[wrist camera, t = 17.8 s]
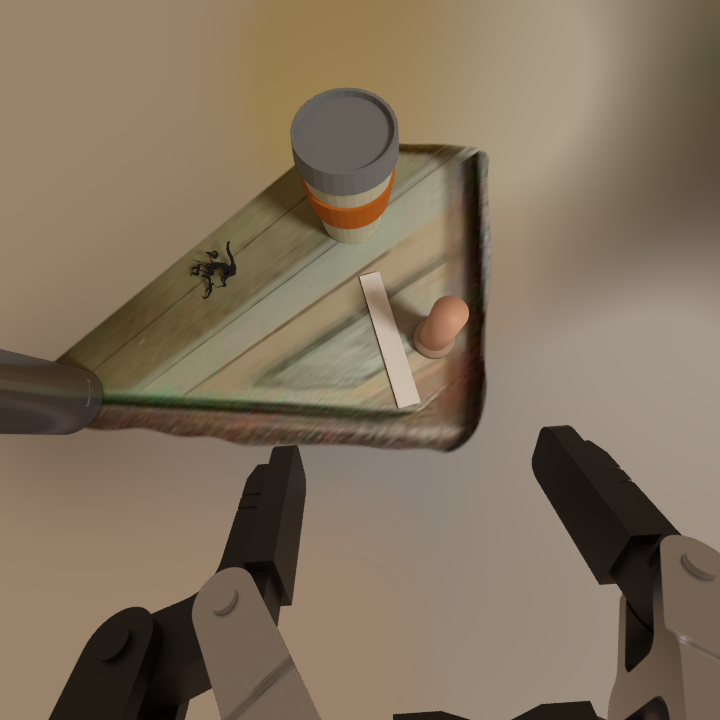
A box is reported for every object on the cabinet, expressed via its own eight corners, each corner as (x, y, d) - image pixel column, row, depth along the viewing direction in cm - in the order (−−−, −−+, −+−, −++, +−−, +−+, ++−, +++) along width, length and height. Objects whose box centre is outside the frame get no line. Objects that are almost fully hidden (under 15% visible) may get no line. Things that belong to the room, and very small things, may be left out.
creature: (195, 302, 49) (240, 299, 47) (166, 286, 44) (215, 282, 42) (203, 256, 51) (248, 251, 49) (177, 236, 46) (225, 230, 44)
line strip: (398, 408, 43) (398, 408, 43) (359, 277, 48) (359, 276, 48) (420, 402, 43) (420, 402, 43) (378, 272, 48) (379, 271, 48)
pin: (420, 363, 44) (434, 342, 35) (408, 326, 46) (418, 296, 36) (459, 352, 45) (483, 329, 35) (445, 316, 46) (465, 283, 36)
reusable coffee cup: (328, 266, 48) (310, 192, 34) (300, 201, 51) (272, 107, 37) (405, 237, 49) (419, 152, 35) (373, 174, 52) (374, 72, 38)
